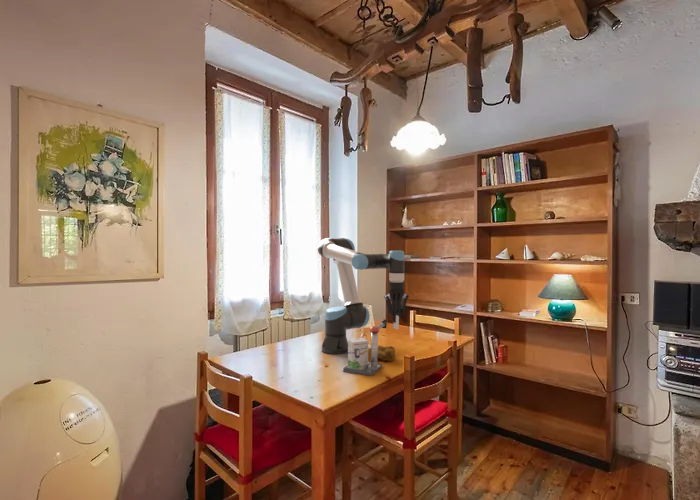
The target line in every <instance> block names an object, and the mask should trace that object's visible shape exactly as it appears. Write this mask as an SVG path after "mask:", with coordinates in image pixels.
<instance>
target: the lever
mask: <svg viewBox="0 0 700 500" xmlns="http://www.w3.org/2000/svg"><path fill="white" fill-rule="evenodd" d="M387 321H388V319H387V318H383V319H381V323H379V324H377V325H376V326H370V329H369V331H370V333H371V332H372V333H378V334H379V332H380V329H387V326H388V322H387Z"/></svg>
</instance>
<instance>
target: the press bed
mask: <svg viewBox="0 0 700 500" xmlns="http://www.w3.org/2000/svg"><path fill="white" fill-rule="evenodd" d="M370 333H371V334H370V335H371V336H370V337H371V339H370V341H371V342H370V343H371V346H370V348H371V349H370V351H371V352H370V361H368V365H363V366H358V367H351V366H350V365H348V364H347V365H346V366H344V368H343V371H342V372H345V373H349V374H355V375H356V374H358V375H362V374H364V375H363V376H369V375H371V377H373V376H374V375H375V374H376V373H377V372H379V370H380V369H381V368H382V367H383V363H381V362H380V363H379V362H378V361H379V360H378V346H379V332H378V333H372V332H370ZM372 375H373V376H372Z"/></svg>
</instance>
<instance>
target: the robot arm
mask: <svg viewBox="0 0 700 500" xmlns="http://www.w3.org/2000/svg"><path fill="white" fill-rule="evenodd" d="M355 248H356V247H355V244H354V242H353V240H351V239H349V238H345V237H342V238H338V237H326V238H324V239H322V240H320V241H319V242H318V245H317V252H318V254H319V255H320V256H321V257H323V258H326V259H332V260H333V263H334V264H336V267H337V271H338V277H339V281H340V285H341V287H340V288H341V291H342V296H343V301H344V305H342V306H341V305H337V306H331V307H329V308H327V309H326V310H325V314H324V319H325V320H324V337H323V341H322V345H321V352H323V353H325V354H331V355H341V354H347V353H348V337H347V330H352V329H353V330H354V329H361V328H364V327H366V326H367V325H368V324H369V321H370V311H369V309H368V308H367V306H364V304H363V302H362V301H361V300H360V297H359V293H358V288H357V284H356V279H355V278H356V277H355V273H354V270H353V268H354V269H355V270H360V271H363V270H375V269H376V270H377V269H378V270H379V269H380V270H381V269H385V270H386V269H387V270H388V271H389V273H388V280H389V282H388V289H389V291H388V293H387V295H384V296H383V298H384V299H385V303H386V306H387V312H388V314H389V315H390V316H391V322H392V323H393V329H395V330H399V329H400V322H401V317H402V315H404V314H405V310H406V305H407V301H408V299H409V298H410V297H409V294H406V293H405V260H406V257H405V252H404V251H403V250H390V251H389V253H388V254H386V253H385V254H384V253H369V254H368V253H362V252H360V251H356V249H355Z"/></svg>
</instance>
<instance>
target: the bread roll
mask: <svg viewBox="0 0 700 500" xmlns="http://www.w3.org/2000/svg"><path fill="white" fill-rule="evenodd" d="M396 355H397V354H396V349H395V347H394V346H388V345H387V346H386V345H385V346H383V345H378V361H382V362H386V361H387V362H388V361H390V362H393V361H394V360H395V359H396V357H397V356H396Z"/></svg>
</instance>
